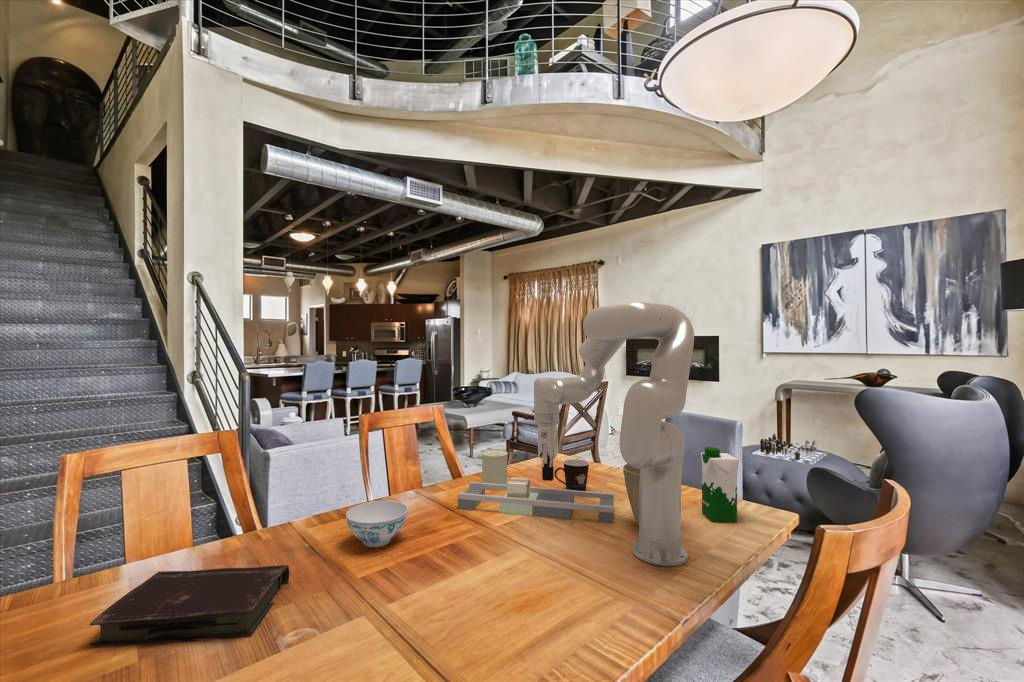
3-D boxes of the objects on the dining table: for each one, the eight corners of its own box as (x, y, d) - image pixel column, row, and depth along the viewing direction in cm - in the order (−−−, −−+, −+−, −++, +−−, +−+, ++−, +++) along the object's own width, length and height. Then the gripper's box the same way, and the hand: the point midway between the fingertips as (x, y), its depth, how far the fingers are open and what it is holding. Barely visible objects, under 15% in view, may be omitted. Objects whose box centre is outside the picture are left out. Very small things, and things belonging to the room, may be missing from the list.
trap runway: (613, 523, 126) (613, 507, 126) (457, 508, 137) (457, 493, 137) (613, 508, 138) (613, 493, 138) (470, 495, 148) (470, 481, 148)
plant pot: (671, 516, 131) (671, 462, 131) (685, 538, 117) (686, 477, 117) (619, 514, 133) (619, 460, 133) (626, 535, 118) (627, 475, 118)
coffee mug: (588, 488, 156) (588, 459, 156) (589, 496, 148) (590, 466, 148) (554, 487, 158) (554, 458, 158) (554, 495, 149) (554, 465, 149)
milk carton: (697, 511, 135) (698, 445, 135) (728, 512, 135) (728, 445, 135) (709, 523, 127) (710, 452, 127) (742, 524, 126) (742, 452, 126)
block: (526, 501, 135) (526, 484, 135) (506, 499, 136) (506, 483, 136) (529, 494, 140) (530, 478, 140) (511, 493, 142) (511, 477, 142)
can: (488, 491, 153) (488, 456, 153) (477, 483, 161) (477, 450, 161) (512, 487, 157) (512, 453, 157) (500, 480, 165) (500, 447, 165)
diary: (159, 593, 92) (160, 568, 92) (289, 585, 95) (289, 561, 95) (84, 654, 73) (85, 623, 73) (248, 642, 76) (249, 612, 76)
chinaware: (332, 546, 111) (332, 515, 111) (377, 524, 124) (377, 496, 124) (377, 560, 104) (378, 527, 104) (419, 536, 117) (420, 506, 117)
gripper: (555, 422, 128) (557, 487, 128) (562, 415, 143) (563, 474, 142) (529, 422, 130) (531, 486, 129) (538, 415, 145) (539, 473, 144)
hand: (548, 479), depth 136 cm, fingers closed
